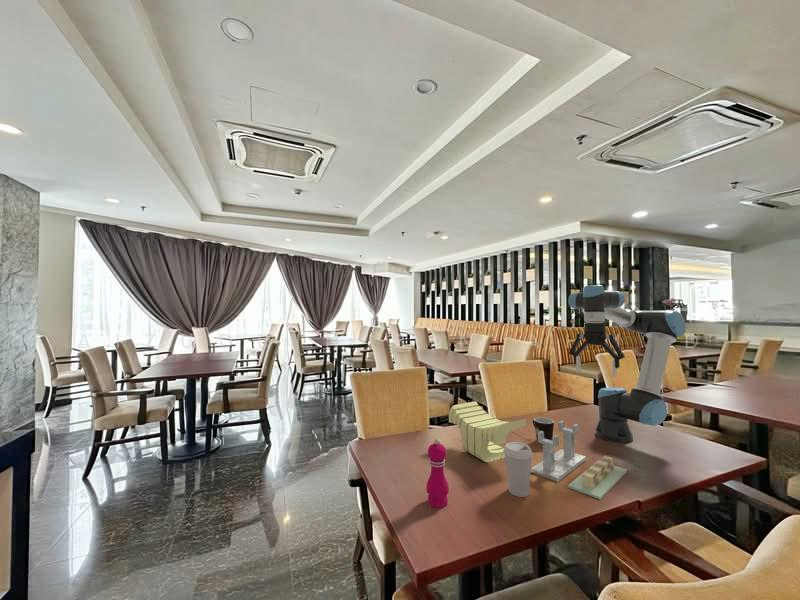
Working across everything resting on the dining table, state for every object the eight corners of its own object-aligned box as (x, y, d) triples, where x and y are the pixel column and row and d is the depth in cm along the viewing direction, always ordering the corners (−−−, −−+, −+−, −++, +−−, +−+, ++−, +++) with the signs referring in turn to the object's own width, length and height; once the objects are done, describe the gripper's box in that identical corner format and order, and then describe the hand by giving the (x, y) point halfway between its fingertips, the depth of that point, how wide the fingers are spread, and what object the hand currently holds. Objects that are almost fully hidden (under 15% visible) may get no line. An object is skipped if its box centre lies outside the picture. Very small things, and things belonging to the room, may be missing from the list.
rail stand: (561, 452, 143) (560, 418, 143) (586, 460, 135) (585, 424, 136) (531, 472, 126) (530, 433, 126) (557, 482, 118) (556, 440, 119)
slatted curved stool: (449, 445, 152) (448, 406, 152) (476, 438, 159) (475, 401, 160) (497, 473, 125) (496, 425, 126) (526, 463, 133) (525, 418, 133)
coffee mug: (556, 446, 149) (556, 424, 149) (536, 445, 151) (535, 423, 151) (550, 437, 160) (549, 416, 161) (531, 435, 162) (531, 415, 162)
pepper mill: (424, 496, 110) (424, 435, 110) (446, 495, 110) (445, 434, 111) (428, 509, 102) (427, 444, 103) (451, 508, 103) (450, 442, 104)
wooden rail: (605, 466, 128) (604, 455, 128) (613, 468, 126) (613, 458, 126) (582, 486, 114) (582, 474, 114) (592, 489, 111) (591, 477, 112)
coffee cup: (518, 502, 106) (517, 454, 106) (498, 488, 115) (497, 443, 115) (540, 495, 110) (539, 449, 110) (519, 482, 118) (518, 439, 119)
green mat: (597, 462, 133) (597, 460, 133) (627, 471, 125) (627, 469, 125) (568, 487, 114) (568, 485, 114) (600, 499, 107) (600, 497, 107)
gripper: (559, 322, 145) (561, 371, 144) (626, 323, 126) (628, 379, 126) (567, 321, 150) (568, 369, 149) (632, 322, 131) (634, 376, 130)
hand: (596, 373), depth 137 cm, fingers open, 13 cm apart
